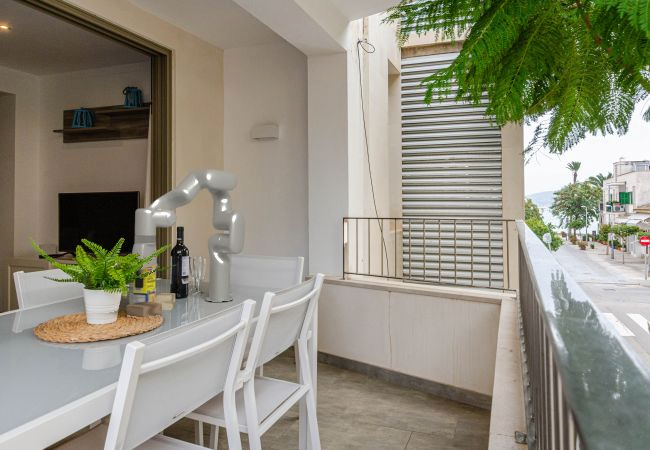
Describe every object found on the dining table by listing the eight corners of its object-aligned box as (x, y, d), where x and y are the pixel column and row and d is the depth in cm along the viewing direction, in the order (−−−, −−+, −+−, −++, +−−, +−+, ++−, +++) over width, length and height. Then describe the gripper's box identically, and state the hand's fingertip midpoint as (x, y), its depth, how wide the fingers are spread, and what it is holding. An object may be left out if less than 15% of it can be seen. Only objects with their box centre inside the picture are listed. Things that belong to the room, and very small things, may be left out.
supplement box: (146, 295, 168) (147, 267, 167) (132, 294, 169) (133, 266, 169) (155, 293, 173) (156, 265, 173) (142, 292, 175) (142, 264, 174)
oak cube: (160, 307, 190) (161, 293, 190) (174, 307, 190) (175, 293, 190) (156, 309, 184) (156, 295, 184) (170, 310, 184) (170, 295, 184)
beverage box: (129, 309, 184) (129, 256, 184) (140, 304, 195) (141, 254, 195) (145, 309, 184) (145, 257, 184) (155, 304, 195) (156, 254, 195)
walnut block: (145, 313, 177) (145, 301, 177) (161, 316, 173) (161, 303, 173) (126, 318, 169) (126, 305, 169) (143, 320, 165) (143, 307, 165)
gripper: (150, 239, 180) (149, 283, 180) (122, 240, 163) (121, 289, 163) (166, 239, 179) (165, 284, 179) (139, 241, 162) (139, 290, 162)
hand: (144, 286), depth 171 cm, fingers closed on supplement box, 6 cm apart
